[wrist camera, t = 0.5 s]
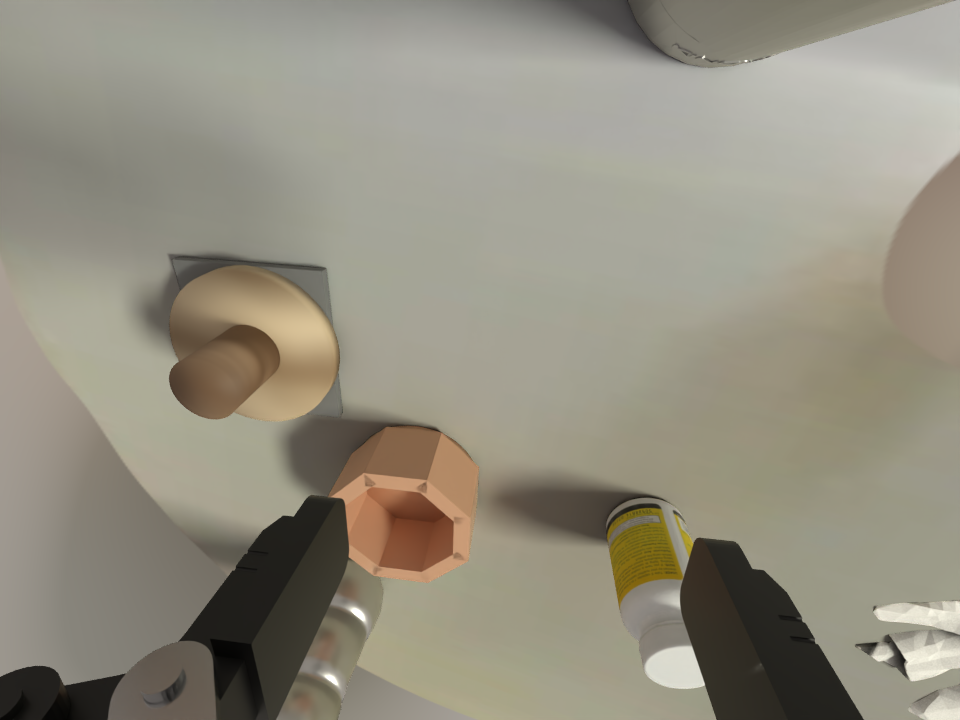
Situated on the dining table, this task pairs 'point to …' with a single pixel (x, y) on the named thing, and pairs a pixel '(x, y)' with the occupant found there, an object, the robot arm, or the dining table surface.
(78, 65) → the dining table surface
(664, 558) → the supplement bottle
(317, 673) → the plastic bottle
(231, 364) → the lid
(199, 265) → the mat
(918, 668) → the cloth
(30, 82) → the dining table surface
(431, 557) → the bowl
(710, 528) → the dining table surface
